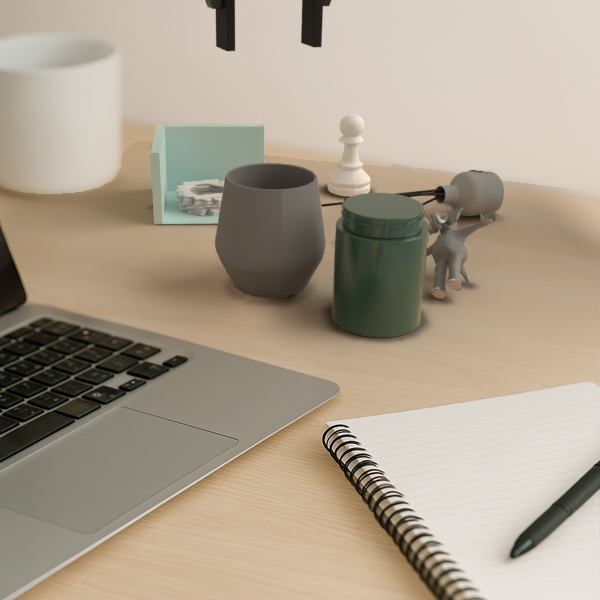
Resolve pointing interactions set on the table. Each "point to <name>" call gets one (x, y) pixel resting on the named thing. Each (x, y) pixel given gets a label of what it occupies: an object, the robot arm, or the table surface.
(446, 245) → the elephant figurine
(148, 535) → the table surface
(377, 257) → the jar
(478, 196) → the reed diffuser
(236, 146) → the l-shaped corner panel
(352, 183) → the chess pawn
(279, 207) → the cup
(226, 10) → the robot arm
